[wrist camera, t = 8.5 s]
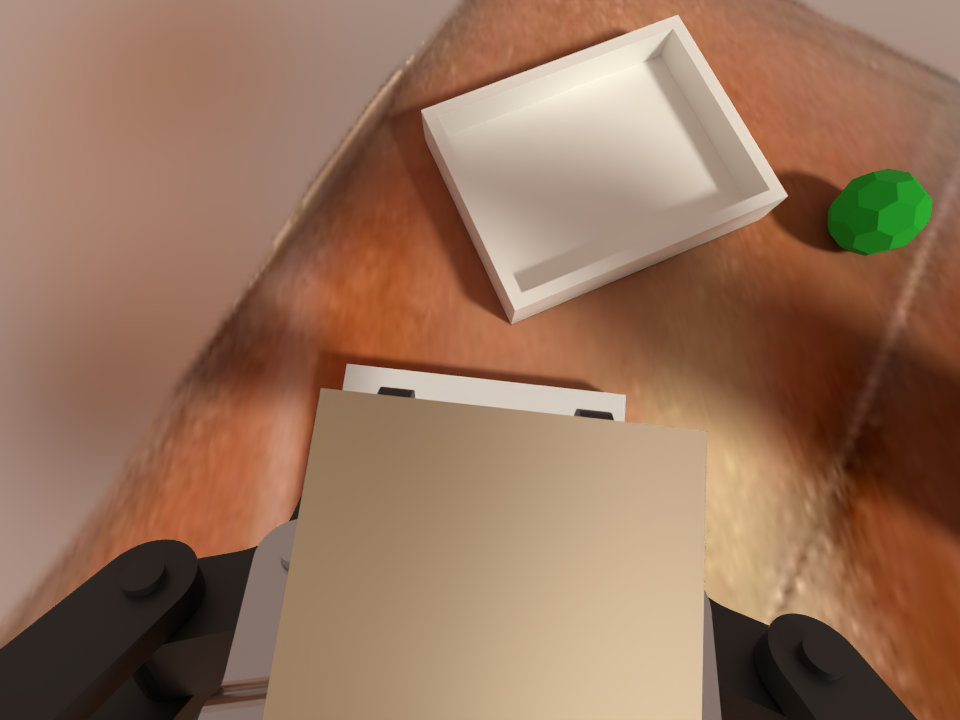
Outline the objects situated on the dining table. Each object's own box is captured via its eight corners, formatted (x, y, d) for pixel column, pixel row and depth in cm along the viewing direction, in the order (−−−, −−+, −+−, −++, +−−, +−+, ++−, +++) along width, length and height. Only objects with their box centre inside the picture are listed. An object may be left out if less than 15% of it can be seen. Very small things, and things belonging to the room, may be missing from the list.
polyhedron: (894, 214, 33) (963, 173, 28) (875, 278, 32) (943, 247, 28) (821, 186, 33) (878, 141, 29) (800, 248, 33) (856, 212, 28)
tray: (660, 51, 35) (678, 14, 32) (759, 219, 33) (788, 196, 30) (425, 140, 34) (420, 110, 31) (511, 324, 31) (514, 310, 28)
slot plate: (615, 399, 30) (625, 394, 28) (603, 611, 28) (613, 622, 26) (354, 369, 30) (346, 363, 29) (320, 578, 28) (309, 587, 26)
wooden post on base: (620, 450, 17) (996, 420, 5) (612, 591, 16) (1053, 1000, 4) (352, 420, 17) (46, 314, 5) (330, 559, 16) (-114, 858, 4)
